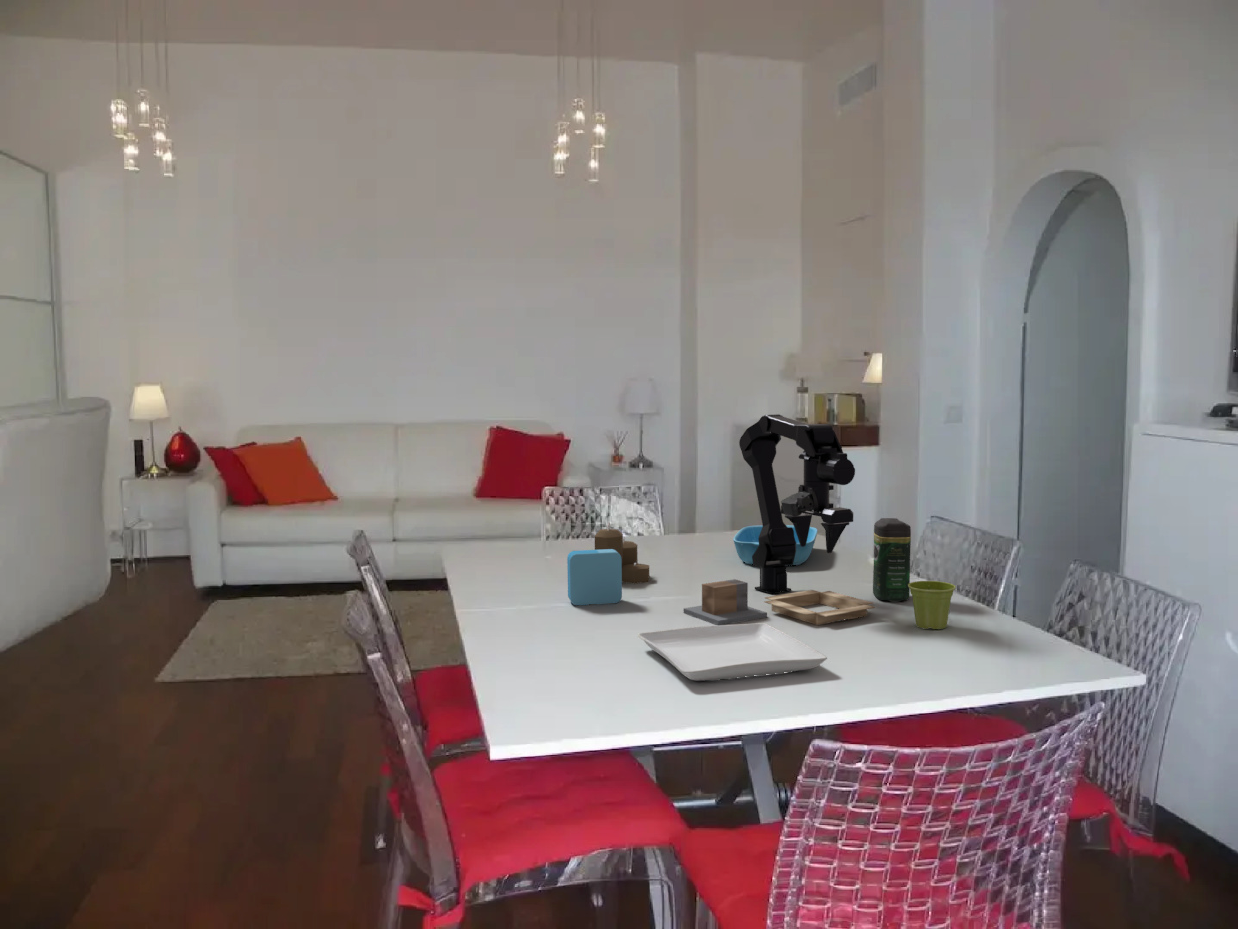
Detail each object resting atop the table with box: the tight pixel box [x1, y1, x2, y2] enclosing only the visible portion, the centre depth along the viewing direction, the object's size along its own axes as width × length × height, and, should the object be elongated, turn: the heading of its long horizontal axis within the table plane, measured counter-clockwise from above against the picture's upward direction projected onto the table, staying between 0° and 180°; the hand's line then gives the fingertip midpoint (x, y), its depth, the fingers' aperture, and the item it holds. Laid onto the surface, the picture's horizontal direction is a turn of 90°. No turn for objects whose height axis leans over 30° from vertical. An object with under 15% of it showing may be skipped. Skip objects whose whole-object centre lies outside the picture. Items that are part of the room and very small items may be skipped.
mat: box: [683, 605, 768, 626], centre depth 224 cm, size 13×13×1 cm
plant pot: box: [908, 580, 957, 630], centre depth 212 cm, size 9×9×9 cm
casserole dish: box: [733, 524, 818, 567], centre depth 289 cm, size 37×22×7 cm, turn 166°
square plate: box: [637, 622, 828, 681], centre depth 189 cm, size 27×27×4 cm
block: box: [701, 578, 749, 615], centre depth 223 cm, size 4×9×6 cm, turn 121°
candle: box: [594, 521, 650, 584], centre depth 261 cm, size 14×14×15 cm
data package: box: [566, 549, 623, 606], centre depth 236 cm, size 12×4×12 cm, turn 101°
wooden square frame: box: [763, 589, 876, 626], centre depth 224 cm, size 20×19×2 cm
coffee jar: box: [872, 517, 912, 603], centre depth 237 cm, size 10×8×19 cm
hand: (815, 549), depth 229 cm, fingers open, 9 cm apart
